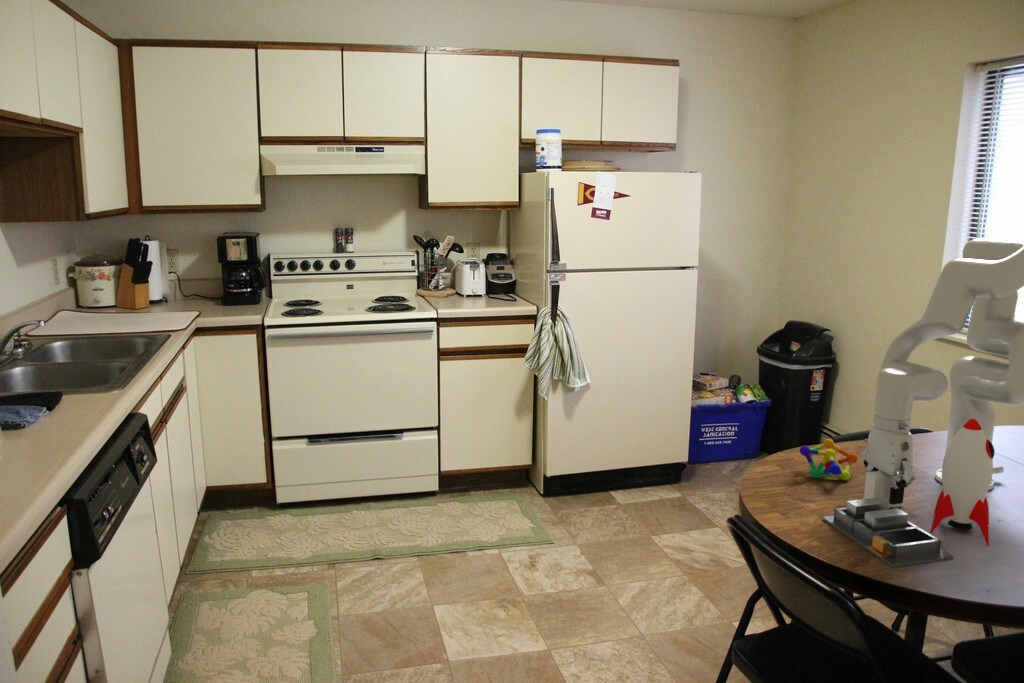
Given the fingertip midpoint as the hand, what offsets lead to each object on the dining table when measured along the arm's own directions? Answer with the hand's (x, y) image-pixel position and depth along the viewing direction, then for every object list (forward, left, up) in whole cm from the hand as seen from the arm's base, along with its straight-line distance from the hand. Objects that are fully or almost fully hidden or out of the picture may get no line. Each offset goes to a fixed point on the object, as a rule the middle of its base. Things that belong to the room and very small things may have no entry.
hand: (883, 496), depth 174 cm
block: (0, 0, -2) cm, 2 cm away
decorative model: (+1, -19, -3) cm, 19 cm away
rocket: (-7, +15, -3) cm, 17 cm away
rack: (+11, +14, -2) cm, 18 cm away
